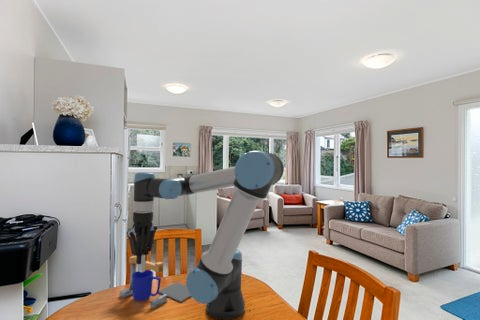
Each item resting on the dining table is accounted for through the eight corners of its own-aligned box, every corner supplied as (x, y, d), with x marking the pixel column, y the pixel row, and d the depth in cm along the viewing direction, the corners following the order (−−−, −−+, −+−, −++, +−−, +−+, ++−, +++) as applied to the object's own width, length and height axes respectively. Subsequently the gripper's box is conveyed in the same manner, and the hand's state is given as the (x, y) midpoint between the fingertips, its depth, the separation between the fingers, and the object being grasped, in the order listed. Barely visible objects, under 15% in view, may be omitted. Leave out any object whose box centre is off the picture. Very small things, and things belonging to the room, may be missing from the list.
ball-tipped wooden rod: (164, 270, 105) (164, 262, 105) (156, 273, 102) (157, 265, 102) (134, 259, 115) (135, 252, 115) (127, 262, 112) (127, 254, 112)
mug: (154, 305, 102) (155, 280, 102) (126, 301, 105) (127, 276, 105) (164, 295, 110) (165, 272, 110) (138, 292, 113) (139, 268, 113)
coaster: (199, 292, 114) (199, 290, 114) (181, 302, 105) (181, 301, 105) (176, 283, 122) (176, 282, 122) (157, 292, 113) (157, 291, 113)
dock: (169, 299, 107) (170, 269, 107) (149, 310, 99) (151, 277, 99) (140, 286, 117) (141, 259, 118) (119, 296, 109) (120, 266, 109)
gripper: (150, 208, 111) (148, 263, 110) (122, 212, 100) (120, 274, 99) (162, 210, 107) (160, 268, 106) (135, 214, 96) (132, 279, 95)
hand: (141, 271), depth 103 cm, fingers closed
